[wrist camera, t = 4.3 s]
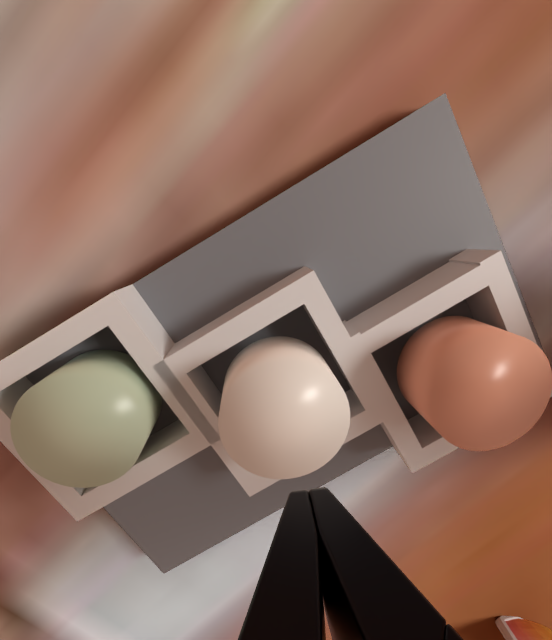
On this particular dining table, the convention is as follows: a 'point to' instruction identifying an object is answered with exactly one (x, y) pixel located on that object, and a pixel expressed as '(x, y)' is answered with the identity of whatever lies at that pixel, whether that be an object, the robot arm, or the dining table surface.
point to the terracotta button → (474, 381)
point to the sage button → (86, 420)
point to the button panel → (290, 328)
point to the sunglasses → (522, 629)
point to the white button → (282, 409)
